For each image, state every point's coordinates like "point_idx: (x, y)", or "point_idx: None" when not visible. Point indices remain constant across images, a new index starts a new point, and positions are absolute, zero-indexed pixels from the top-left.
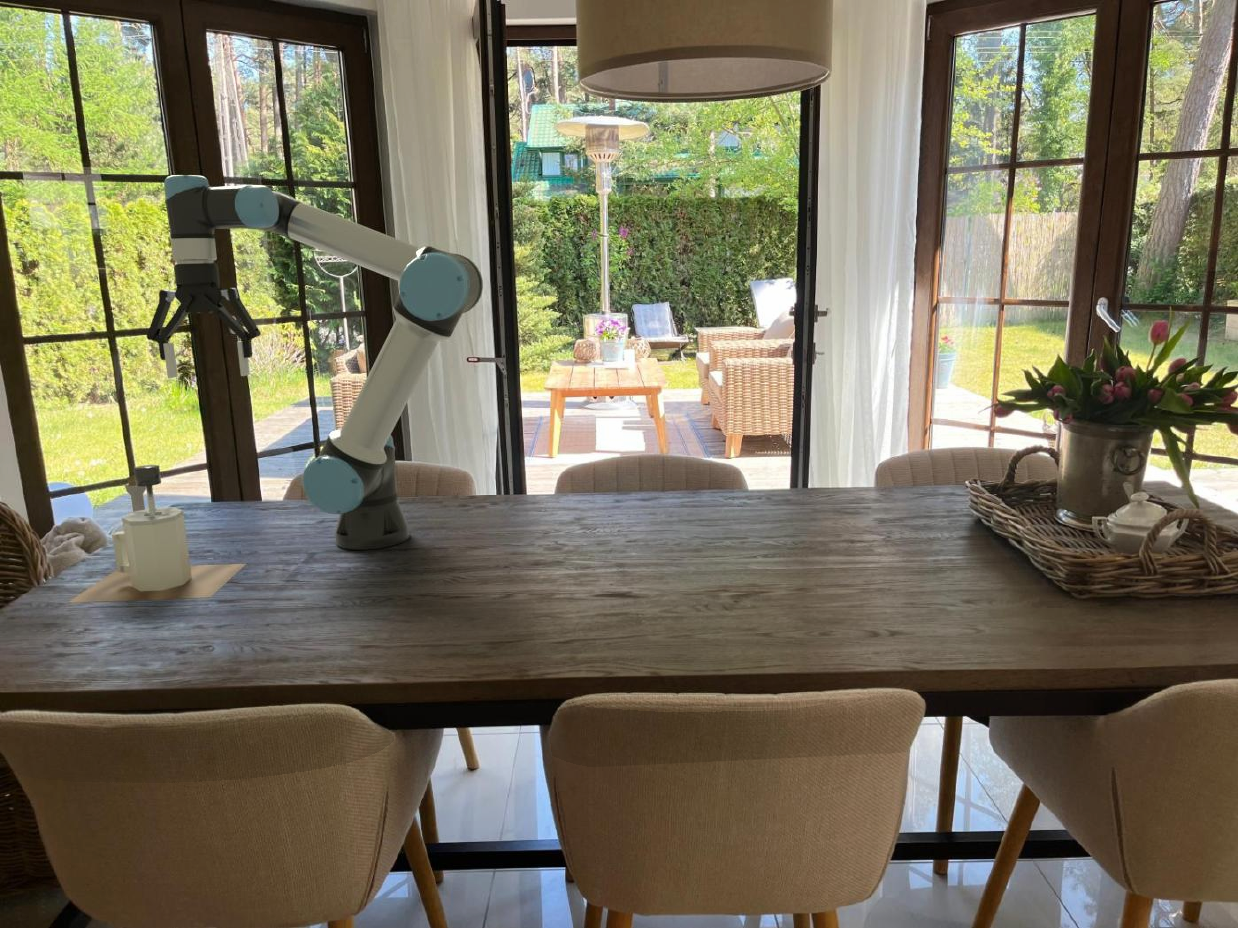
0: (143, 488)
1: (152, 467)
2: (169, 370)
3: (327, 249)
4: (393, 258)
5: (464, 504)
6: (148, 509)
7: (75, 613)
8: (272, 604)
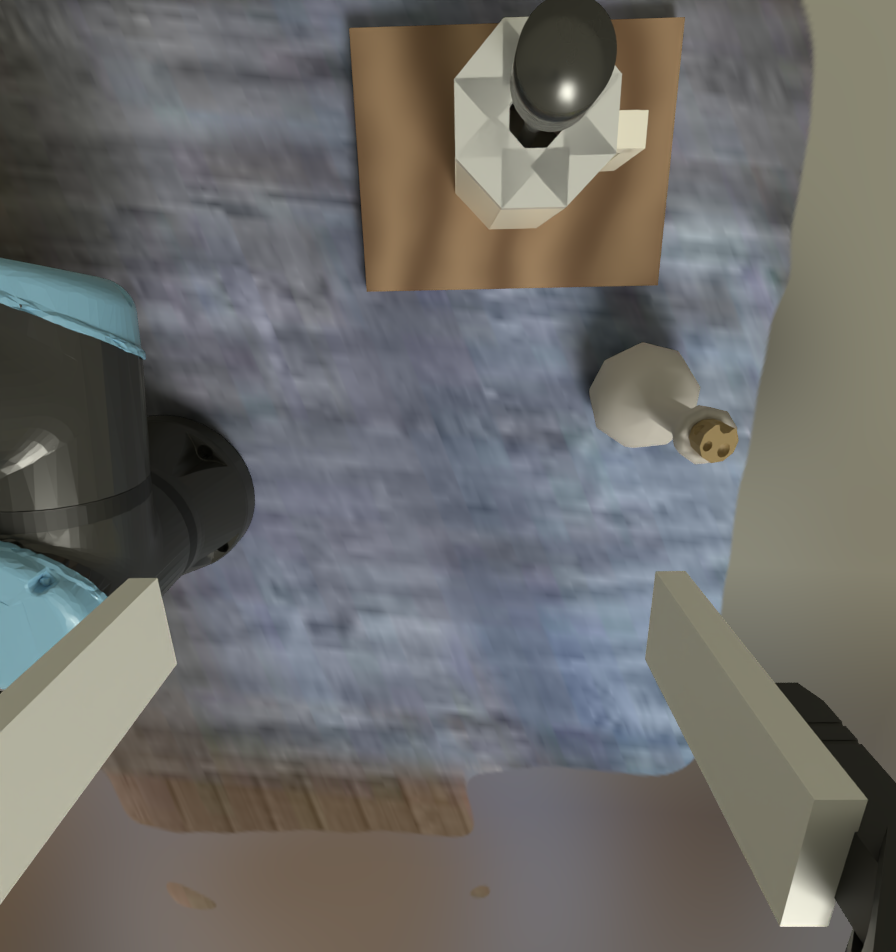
0: (675, 427)
1: (536, 43)
2: (688, 603)
3: None
4: None
5: None
6: (574, 185)
7: (654, 7)
8: (212, 33)
